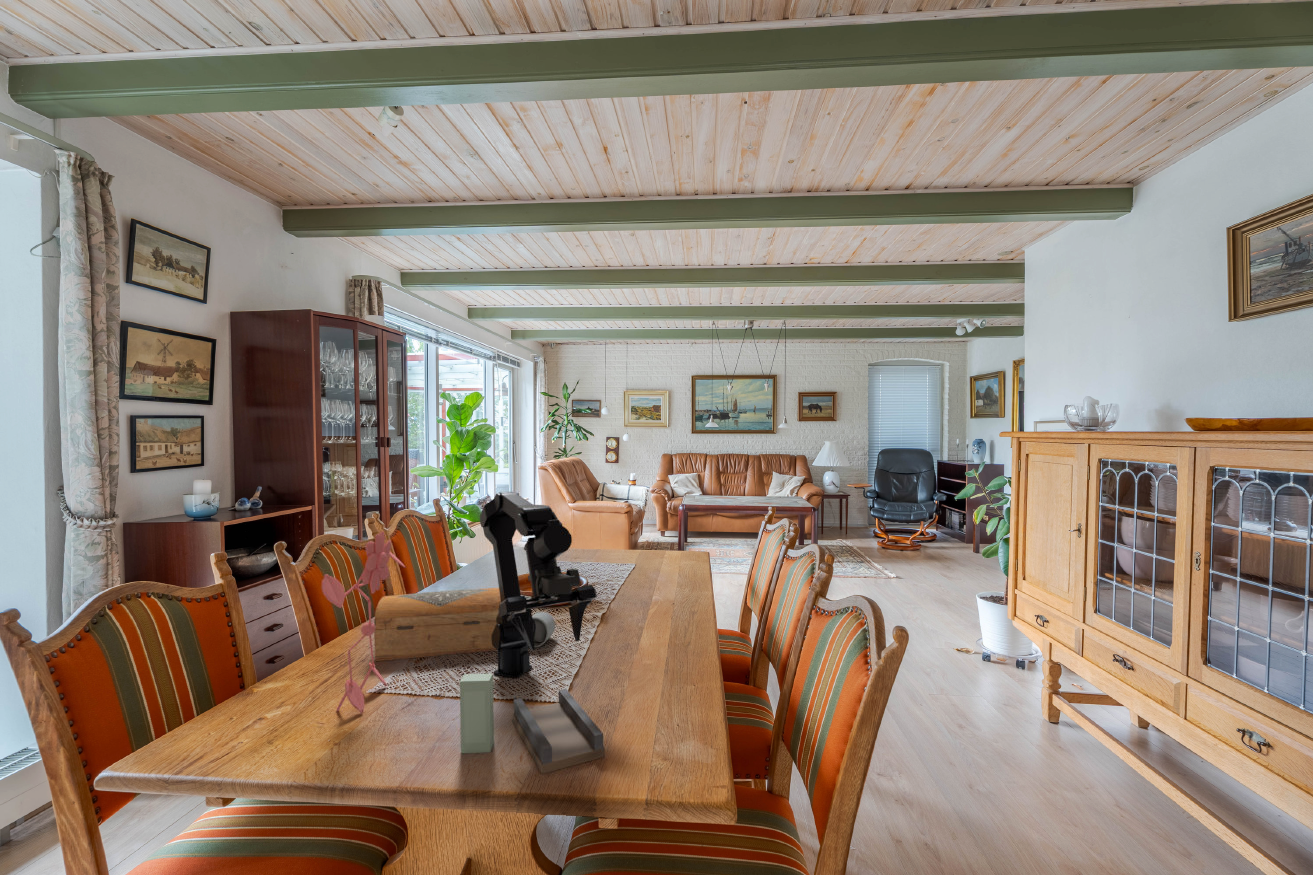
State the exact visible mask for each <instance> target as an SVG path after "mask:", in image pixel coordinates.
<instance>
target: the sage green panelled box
mask: <svg viewBox="0 0 1313 875" xmlns="http://www.w3.org/2000/svg"><path fill="white" fill-rule="evenodd" d="M459 702H460V703H459V706H460V709H459V713H460V714H459V716H460V717H459V718H460V719H459V720H460V722H459V723H460V725H459V726H460V727H459V728H460V754H475V753H477V754H480V753H491V751H492V748H493V747H494V743H495V735H494V734H495V733H494V732H495V728H494V727H495V726H494V724H495V722H494V721H495V720H494V718H495V716H494V715H495V714H494V708H495V707H494V673H469V674H467V673H465V674H463V677H462V678H461V679H460V681H459Z"/></svg>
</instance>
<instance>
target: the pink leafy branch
mask: <svg viewBox="0 0 1313 875" xmlns="http://www.w3.org/2000/svg"><path fill="white" fill-rule="evenodd" d="M385 540H386V538H385V532H384V530H381V531H380V533H377V534H376V536H375V537H374V541H372V540H369V541H368V542H367V543H366V544H365V554H366V556H367V559H366V560H365V561H366V562H365V564H364V569H363V571H362V573H361V575H360V577H359V578H358V580H357V582H356V583H354V584H353V586H352V587H350V588H349V589H348V590H347V591H346V592H345V587H344V586H343V584H342V583H341V581H339V580H338V579H337V578H336V577H334V576H331V575H329V574H328V573H326V574H324V575H323V579H322V580H321V590H322V594H323V595H324V596H325V599H327V601H329V602H330V603H331V604H333V605H334V606H335V607H338V608H339V609H342V608H343V605H344V602H345V598H346V597H347V596H349V594H350V593H351V592H352V591H354V590H357V591H358V592H359V594H361V596H362V597H363V598H364V599H365V600H366V601H367V610H368V622H366V623H363V625H362V626H361V628H360V633H361V634H362V637H360V638H359V639H358V640H357V641H356V642H355V644H353V645H352V646H351V647H349V649H348V650H347V658H348V666H349V667H348V669H349V679H347V680H346V682H345V683H344V688H345V691H344V694H343V697H342V698H341V700H340V701H339V702H338V705H337V707H336V711H340V709H341V707H342V706H343V703H344V702H345V700H346V697H347V700H348V702H349V703H350V704H351V706H352V707H353V708H354V709H356V710H358V712H360V714H363V713H364V711H365V698H364V697H365V696H364V694H363V691H362V689H364V688H363V687H364V686H365V684H366V683H367V681H368V679H369V676H370V674H371V672H373V673H374V675H375V676H376V677H377V678H378V680H379V681H380V682H381V683H382V684H383V685H384V686H385V687H387V686H388V683H387V682H386V681H385V679H384V678H383V676H382V675H381V674H380V672H379V670H377V668H376V665H375V659H374V650H373V642H372V635H374V631H375V629H376V627H375V625H374V622H372V601H371V599H370V597H369V596H368V595H366V593H364V591H362V589H360V587H363V586H365V585H368V584H369V587H370V592H371V594H375V592H376V591H379V590H380V587H381V581H384V580H387V579H388V578H389V576H390V569H389V567H388V563H389V560H390V558H392V560H394V562H396V564H398V565H399V566H401V567H403V568H404V569H405V568H406V566H405V565H404V563H403V562H402V561H401V560H400V559H399V558H398V557H397V556H396V555H395V554H394V553H392V552H391V548H392V541H391V540H390V539H388V540H387V541H385ZM366 637H368V639H369V646H370V655H371V662H368V665H369V667H370V668H369V669H368V671H367V673H366V675H365V676H364V679H363V681H362V683H361V684H360V685H359V684H358V683H357V682H356V681H355V680H353V673H352V663H351V662H352V660H351V651H353V649H354V648H355V647H356V646H357V645H358V644H359V643H360V642H361V641H362V640H363V639H364V638H366ZM413 680H414V679H412V681H413ZM415 681H416V680H414V682H415ZM421 685H422V687H424V686H423V684H421ZM421 696H422V695H419V696H417V697H416V698H415V699H414V700H413V701H411V702H410V703H409V704H407V705H406V706H404V707H402V708H401V710H403V709H405V708H407V707H408V706H411V704H413V703H414V702H415V701H416V700H417V699H418V698H421ZM315 723H316V724H319V725H320V724H322V725H325V723H323V722H319V721H318V722H315Z"/></svg>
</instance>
